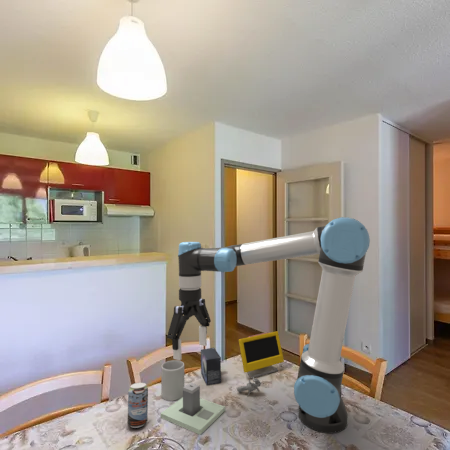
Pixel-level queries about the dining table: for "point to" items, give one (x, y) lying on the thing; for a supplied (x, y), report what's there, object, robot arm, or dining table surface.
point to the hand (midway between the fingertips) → (190, 351)
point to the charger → (191, 399)
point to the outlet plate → (199, 420)
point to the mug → (172, 380)
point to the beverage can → (137, 405)
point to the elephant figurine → (250, 386)
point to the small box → (211, 366)
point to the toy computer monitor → (261, 353)
